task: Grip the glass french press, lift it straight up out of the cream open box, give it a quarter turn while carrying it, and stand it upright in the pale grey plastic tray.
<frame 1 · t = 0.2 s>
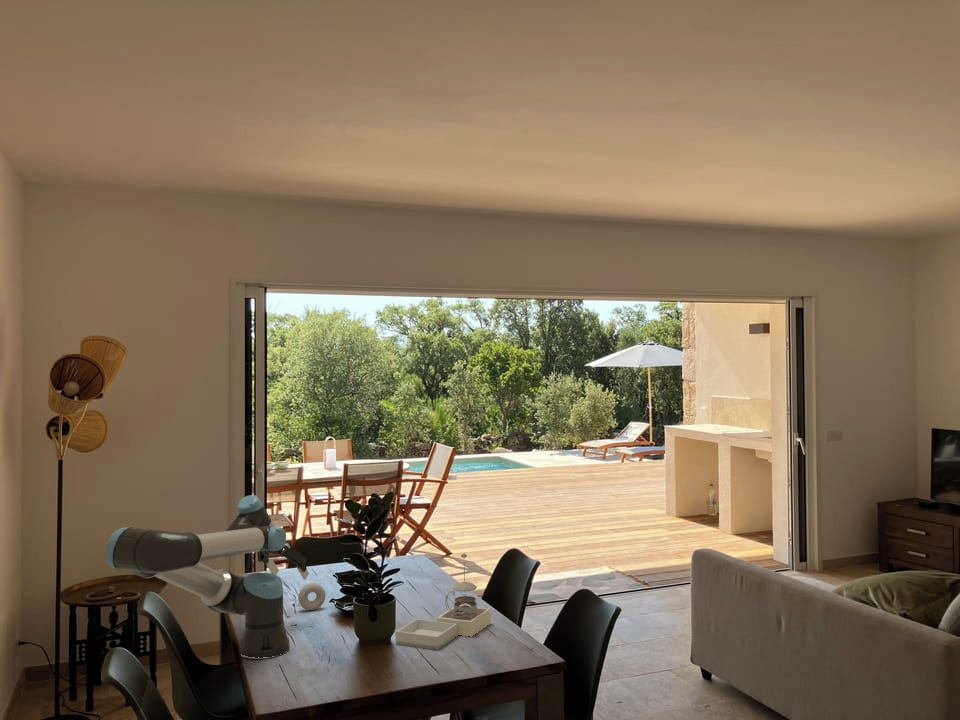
hand: (291, 575, 271), 16 cm above the table, tool tilted 35°, fingers open, 13 cm apart
french press: (463, 628, 256), resting in cream open box
cream open box: (464, 628, 255), on the table
donut: (312, 610, 280), on the table
tray: (427, 640, 245), on the table
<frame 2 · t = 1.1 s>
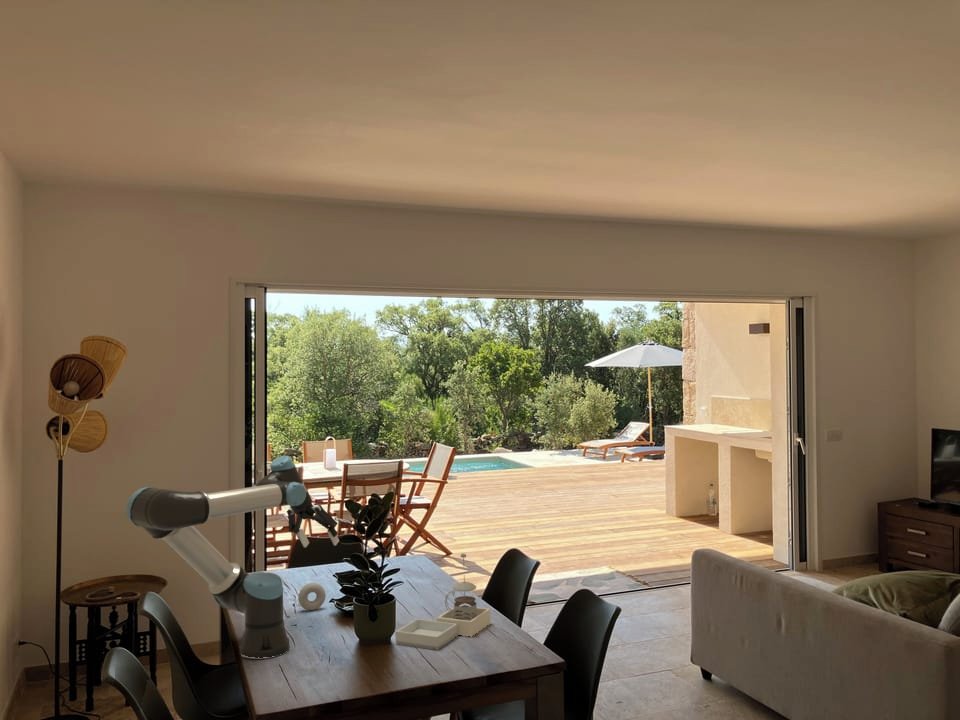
hand: (321, 544, 275), 25 cm above the table, tool tilted 30°, fingers open, 13 cm apart
nothing on the table moved.
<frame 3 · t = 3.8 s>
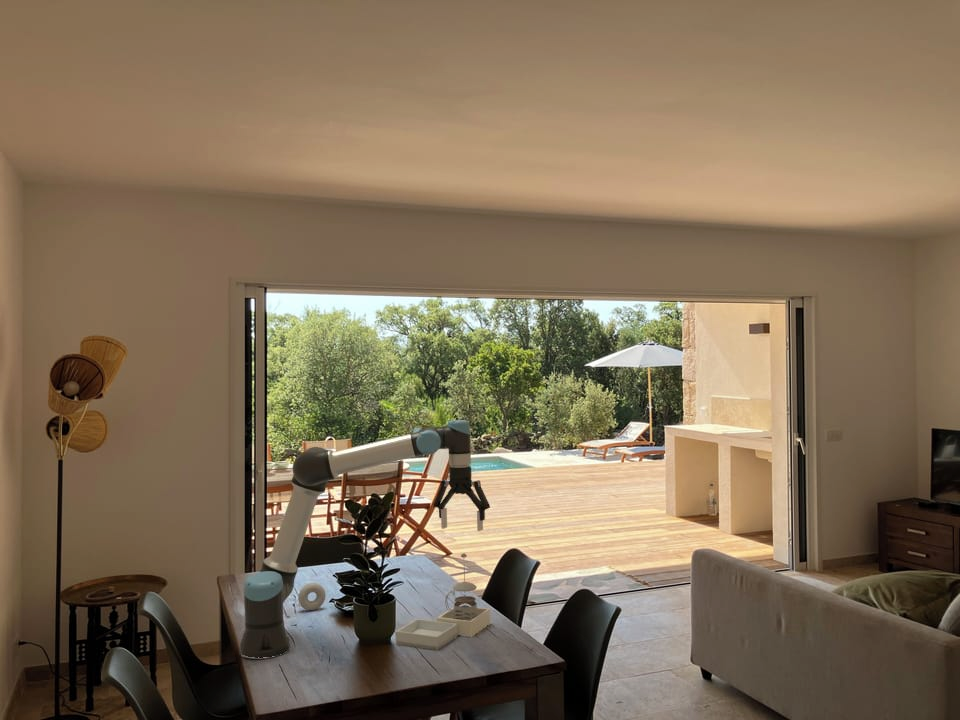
hand: (462, 529, 256), 33 cm above the table, tool pointing down, fingers open, 13 cm apart
nothing on the table moved.
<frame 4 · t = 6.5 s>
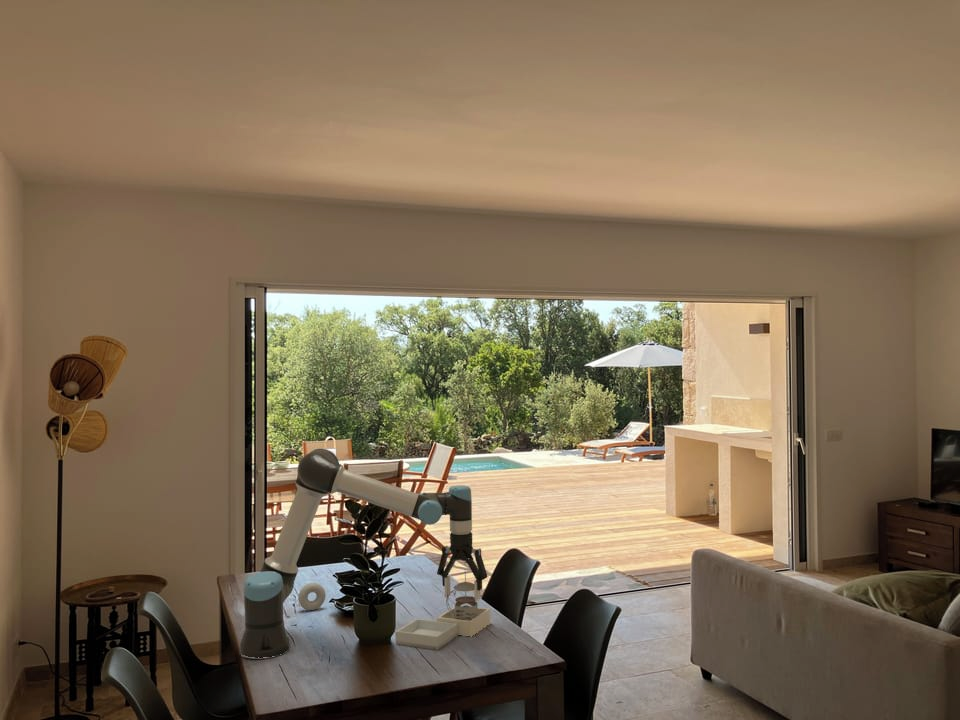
hand: (462, 598, 256), 10 cm above the table, tool pointing down, fingers open, 10 cm apart
french press: (464, 628, 255), resting in cream open box, touching gripper
everything else where it was.
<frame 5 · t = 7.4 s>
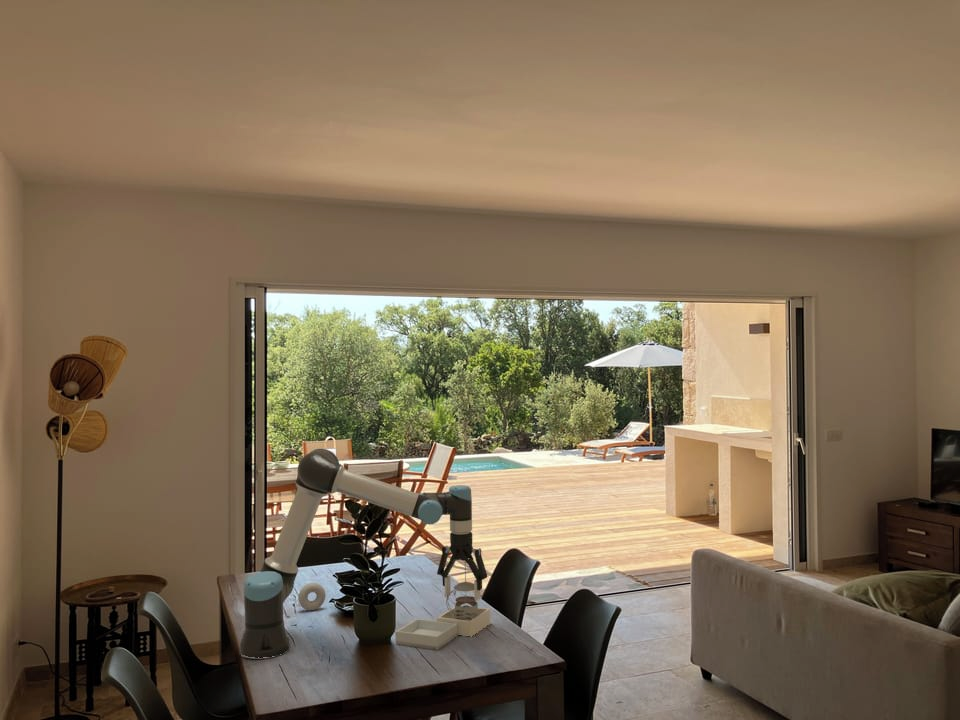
hand: (462, 597, 256), 10 cm above the table, tool pointing down, fingers closed on french press, 10 cm apart
french press: (464, 628, 255), resting in cream open box, touching gripper
everything else where it was.
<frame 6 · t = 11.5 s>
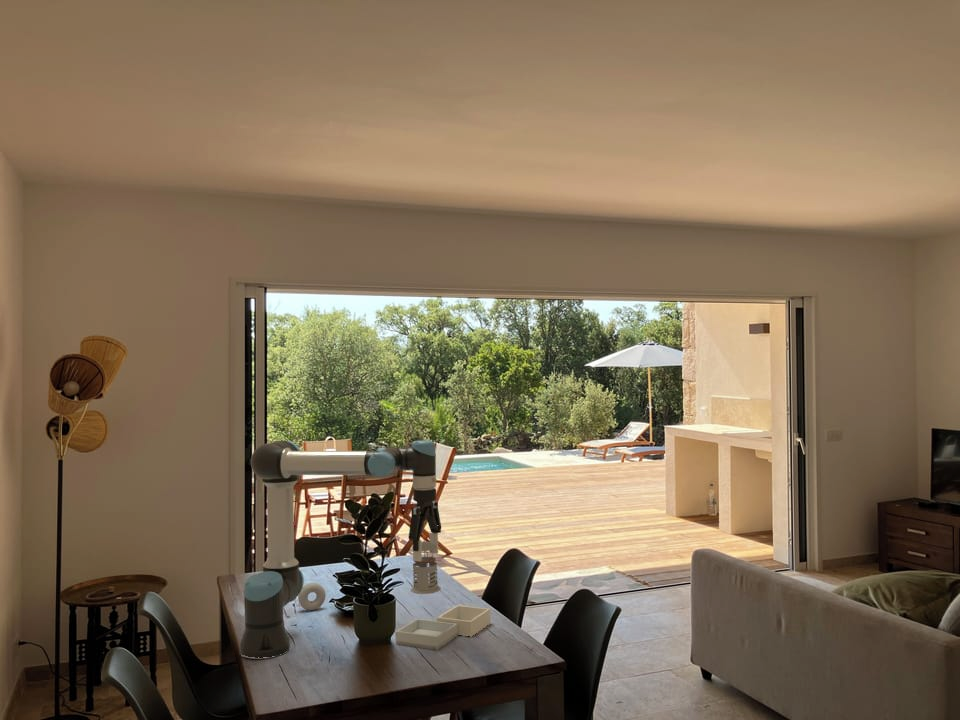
hand: (425, 556, 246), 26 cm above the table, tool pointing down, fingers closed on french press, 10 cm apart
french press: (426, 589, 245), point 16 cm above the table, touching gripper
everything else where it was.
when the fingers open (12 cm above the table, at t = 15.4 s): french press drops 1 cm, resting on tray.
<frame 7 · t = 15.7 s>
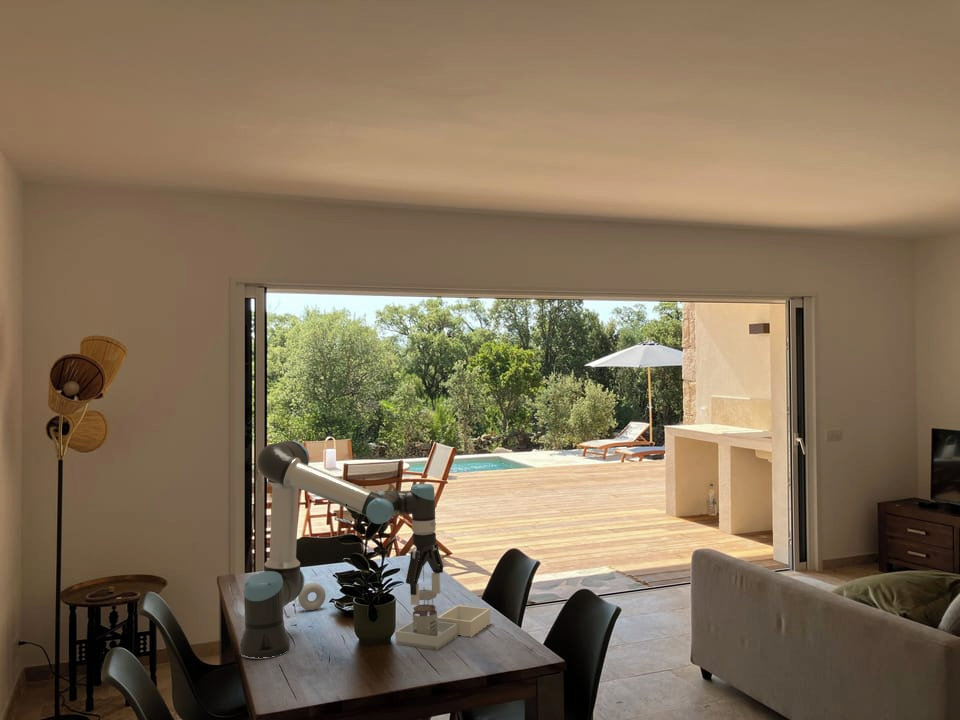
hand: (425, 598, 245), 13 cm above the table, tool pointing down, fingers open, 13 cm apart
french press: (426, 637, 244), point 1 cm above the table, touching tray
everything else where it was.
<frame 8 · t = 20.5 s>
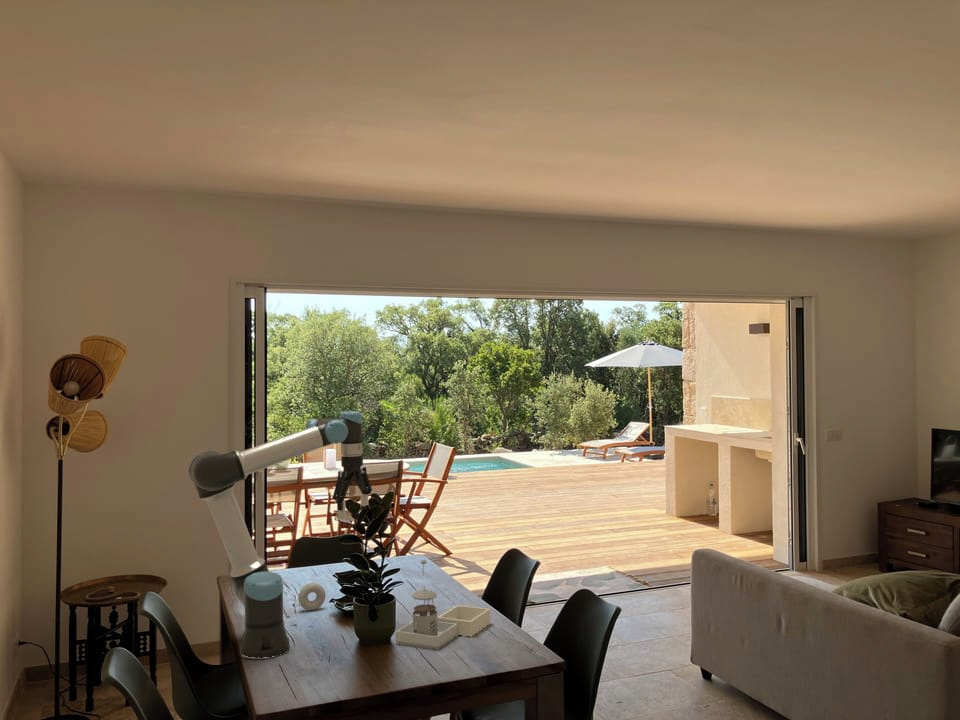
hand: (353, 516, 267), 37 cm above the table, tool pointing down, fingers open, 13 cm apart
nothing on the table moved.
at the end: french press inside the target area on the tray (0.3 cm from its centre), point 0.8 cm above the tray's base; french press tilted 0°; the gripper is holding nothing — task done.
